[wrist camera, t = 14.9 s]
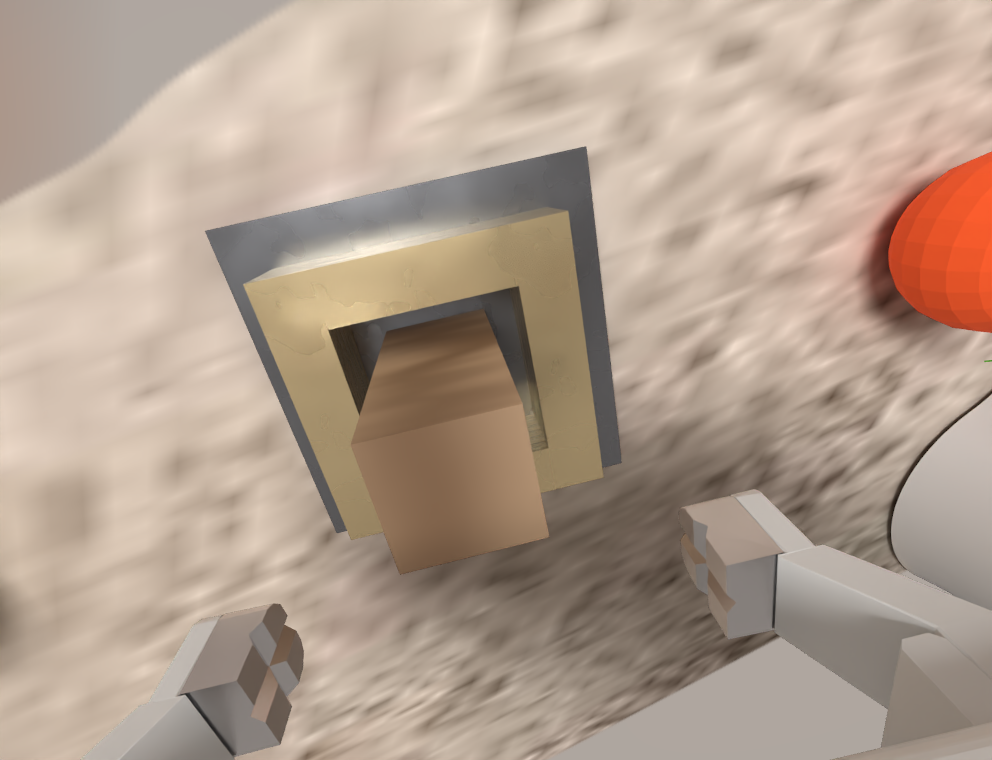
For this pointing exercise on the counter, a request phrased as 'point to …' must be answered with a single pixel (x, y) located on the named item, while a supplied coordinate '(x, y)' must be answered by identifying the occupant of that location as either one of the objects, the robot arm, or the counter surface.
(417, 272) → the collar
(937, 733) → the robot arm
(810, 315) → the counter surface
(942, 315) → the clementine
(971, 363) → the counter surface
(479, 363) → the peg
